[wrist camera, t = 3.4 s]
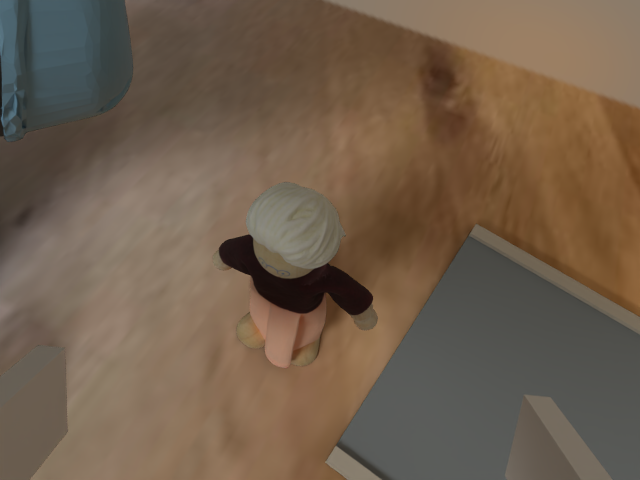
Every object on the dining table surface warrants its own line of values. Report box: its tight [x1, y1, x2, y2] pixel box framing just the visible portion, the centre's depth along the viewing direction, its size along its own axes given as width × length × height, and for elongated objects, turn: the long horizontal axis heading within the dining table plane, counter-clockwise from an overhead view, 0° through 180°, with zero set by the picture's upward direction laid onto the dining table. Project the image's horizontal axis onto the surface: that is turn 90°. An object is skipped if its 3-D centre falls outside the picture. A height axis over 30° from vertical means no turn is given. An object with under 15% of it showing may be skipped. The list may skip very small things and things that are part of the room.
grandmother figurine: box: [213, 182, 378, 368], centre depth 22 cm, size 8×4×13 cm, turn 78°
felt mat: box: [325, 224, 640, 480], centre depth 25 cm, size 16×16×1 cm
